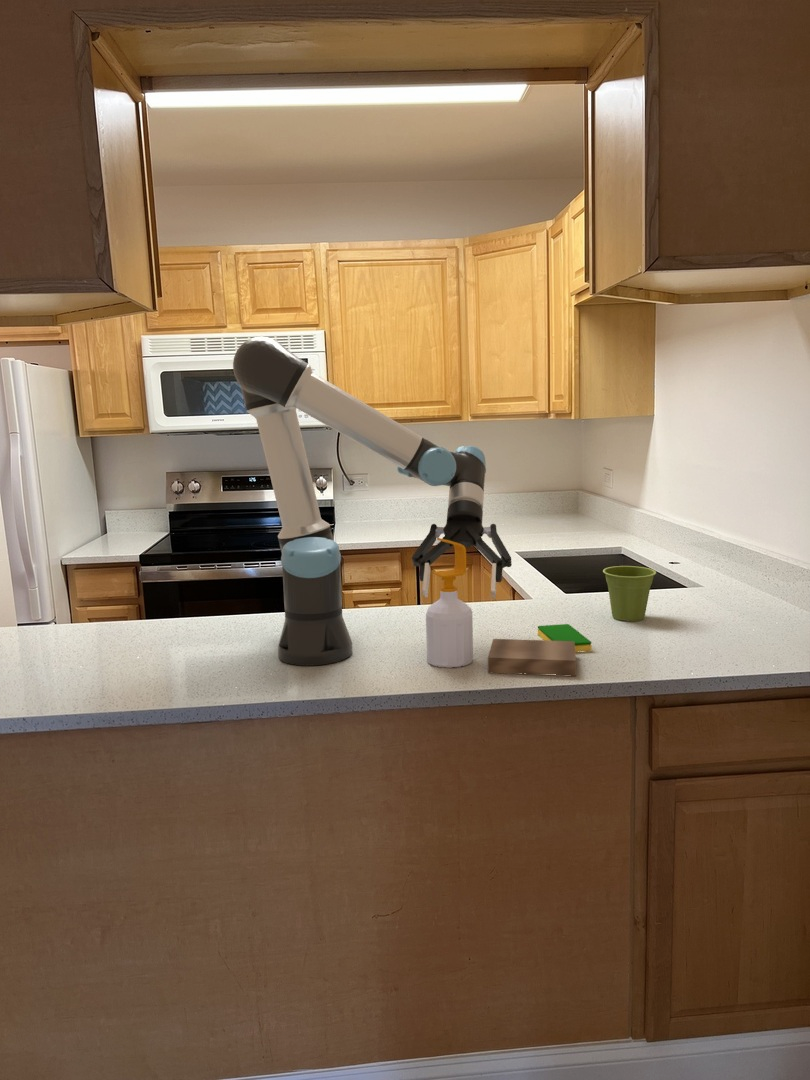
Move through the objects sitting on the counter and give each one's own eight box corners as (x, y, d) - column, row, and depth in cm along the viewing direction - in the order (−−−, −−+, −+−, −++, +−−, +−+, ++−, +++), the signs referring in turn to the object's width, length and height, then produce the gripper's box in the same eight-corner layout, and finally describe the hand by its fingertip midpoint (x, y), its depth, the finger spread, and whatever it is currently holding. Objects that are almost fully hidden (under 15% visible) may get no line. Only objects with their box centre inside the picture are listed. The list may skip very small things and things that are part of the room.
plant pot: (591, 617, 175) (592, 570, 174) (622, 609, 183) (623, 563, 181) (634, 628, 166) (635, 578, 164) (665, 618, 173) (666, 570, 171)
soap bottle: (419, 658, 149) (416, 536, 145) (460, 651, 153) (458, 533, 149) (439, 671, 141) (436, 543, 137) (481, 664, 145) (480, 539, 141)
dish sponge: (557, 655, 150) (557, 643, 149) (537, 636, 163) (537, 625, 163) (591, 653, 151) (592, 641, 150) (568, 634, 164) (568, 623, 164)
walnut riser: (488, 672, 139) (487, 657, 139) (493, 653, 151) (493, 638, 151) (575, 676, 136) (575, 660, 136) (574, 655, 148) (574, 641, 147)
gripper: (524, 519, 160) (522, 604, 149) (410, 519, 165) (400, 602, 153) (523, 497, 154) (522, 585, 142) (405, 498, 159) (394, 583, 147)
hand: (458, 594), depth 148 cm, fingers open, 13 cm apart
